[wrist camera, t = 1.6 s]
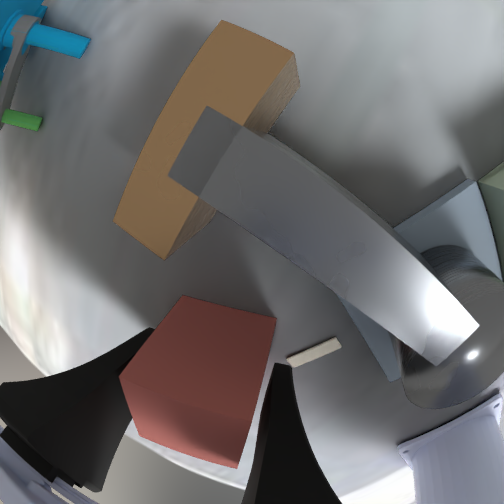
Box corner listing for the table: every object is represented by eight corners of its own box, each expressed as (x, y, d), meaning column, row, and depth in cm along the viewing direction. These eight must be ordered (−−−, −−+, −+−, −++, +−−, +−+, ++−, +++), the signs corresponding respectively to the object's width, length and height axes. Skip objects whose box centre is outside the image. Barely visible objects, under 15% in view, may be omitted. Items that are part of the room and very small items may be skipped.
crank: (501, 282, 7) (543, 328, 4) (420, 365, 9) (438, 424, 6) (255, 62, 7) (221, 19, 4) (174, 193, 9) (112, 220, 6)
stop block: (276, 317, 11) (252, 421, 6) (261, 380, 12) (236, 468, 8) (183, 294, 11) (118, 376, 7) (183, 359, 13) (139, 435, 8)
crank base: (500, 305, 8) (505, 312, 8) (323, 399, 12) (323, 408, 12) (467, 178, 7) (475, 181, 7) (246, 311, 11) (243, 320, 10)
